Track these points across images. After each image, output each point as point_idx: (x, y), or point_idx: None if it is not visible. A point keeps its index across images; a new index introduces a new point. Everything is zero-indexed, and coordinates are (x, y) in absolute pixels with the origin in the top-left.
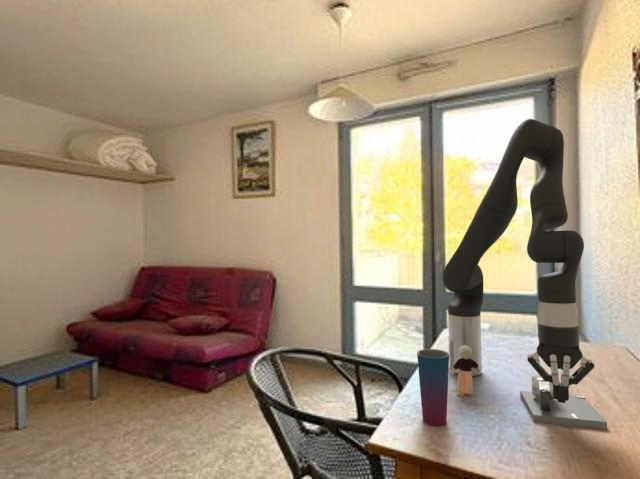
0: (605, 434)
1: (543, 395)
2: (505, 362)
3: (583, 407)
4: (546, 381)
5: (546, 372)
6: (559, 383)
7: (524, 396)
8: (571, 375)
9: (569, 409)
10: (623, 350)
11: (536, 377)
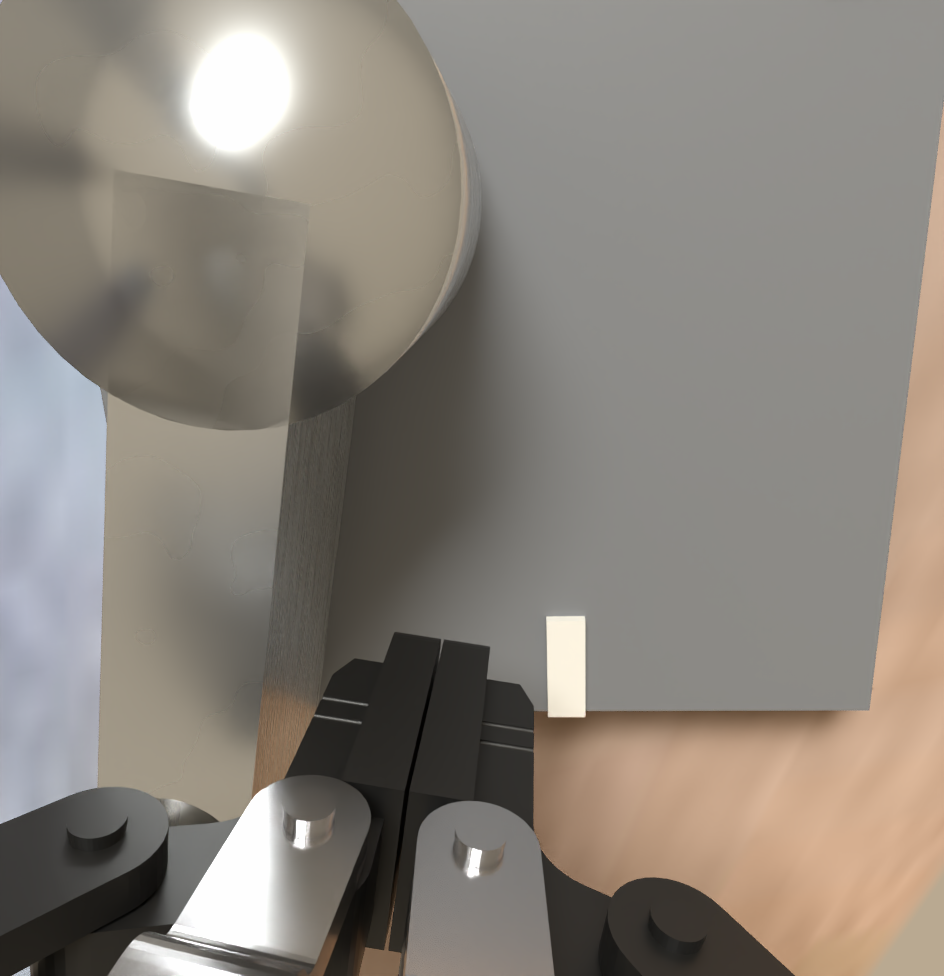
0: (771, 767)
1: None
2: None
3: (780, 358)
4: (248, 385)
5: (65, 945)
6: (362, 951)
7: None
8: (642, 972)
9: (575, 476)
10: None
11: (66, 168)
